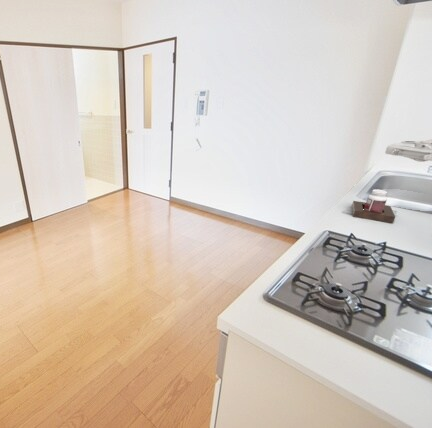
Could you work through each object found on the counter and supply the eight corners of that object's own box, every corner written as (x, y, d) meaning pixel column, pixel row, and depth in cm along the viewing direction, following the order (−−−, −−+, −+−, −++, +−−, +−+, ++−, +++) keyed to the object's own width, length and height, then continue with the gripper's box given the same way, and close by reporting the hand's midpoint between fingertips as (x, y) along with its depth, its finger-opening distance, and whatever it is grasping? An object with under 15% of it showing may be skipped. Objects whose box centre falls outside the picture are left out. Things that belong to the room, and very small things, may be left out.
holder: (388, 212, 126) (390, 206, 124) (392, 223, 116) (395, 216, 115) (351, 206, 133) (353, 200, 131) (352, 216, 123) (354, 210, 122)
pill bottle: (383, 215, 123) (392, 191, 118) (376, 218, 121) (385, 194, 116) (366, 210, 128) (375, 187, 124) (359, 213, 126) (367, 190, 121)
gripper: (455, 163, 115) (438, 168, 111) (393, 153, 132) (376, 158, 128) (462, 147, 113) (445, 152, 108) (398, 140, 130) (381, 144, 125)
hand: (407, 155), depth 118 cm, fingers open, 8 cm apart
